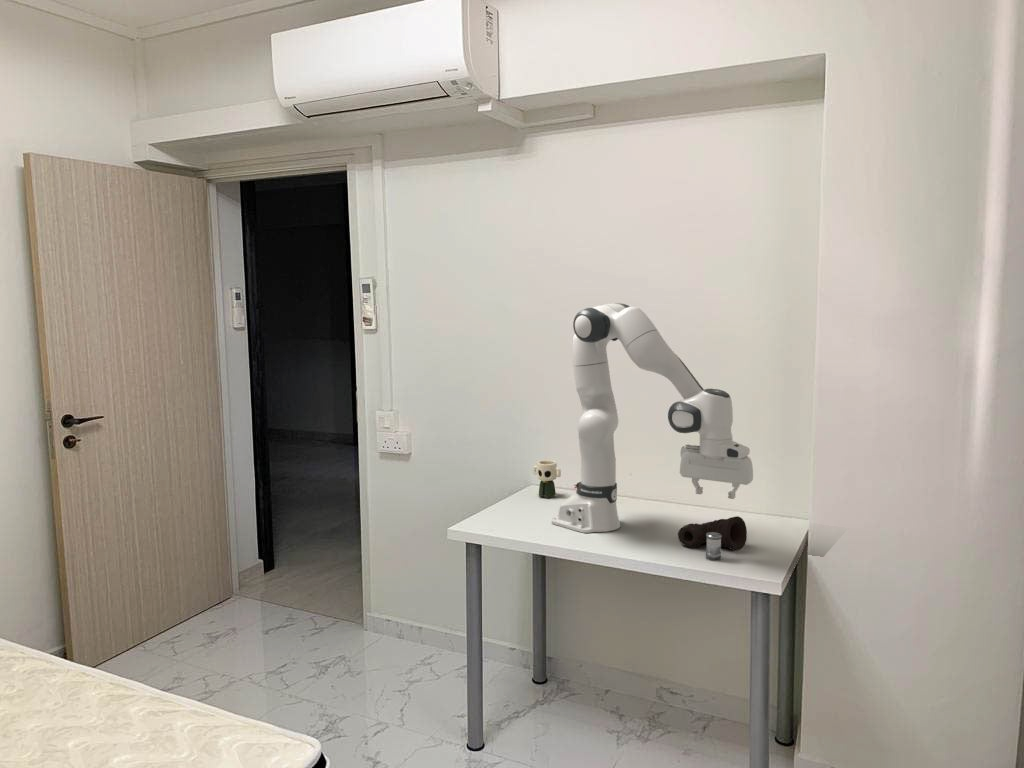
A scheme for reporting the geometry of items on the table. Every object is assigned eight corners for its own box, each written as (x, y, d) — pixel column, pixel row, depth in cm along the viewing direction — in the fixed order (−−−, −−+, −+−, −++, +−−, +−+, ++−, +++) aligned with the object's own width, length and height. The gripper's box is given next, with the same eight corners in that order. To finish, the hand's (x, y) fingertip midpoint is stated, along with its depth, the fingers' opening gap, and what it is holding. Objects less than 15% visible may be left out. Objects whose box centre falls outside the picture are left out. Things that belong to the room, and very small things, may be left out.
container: (703, 559, 219) (703, 535, 218) (708, 554, 222) (709, 531, 221) (717, 562, 216) (718, 537, 216) (723, 557, 220) (723, 533, 219)
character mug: (529, 497, 286) (529, 462, 284) (537, 492, 292) (537, 459, 291) (556, 500, 281) (556, 465, 279) (564, 496, 287) (564, 461, 286)
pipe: (674, 520, 231) (719, 521, 220) (702, 512, 241) (745, 514, 231) (678, 552, 230) (722, 555, 220) (705, 544, 241) (749, 546, 230)
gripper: (676, 445, 219) (675, 493, 220) (748, 453, 207) (747, 503, 209) (685, 442, 224) (684, 488, 226) (755, 449, 212) (754, 498, 214)
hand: (715, 496), depth 217 cm, fingers open, 8 cm apart
